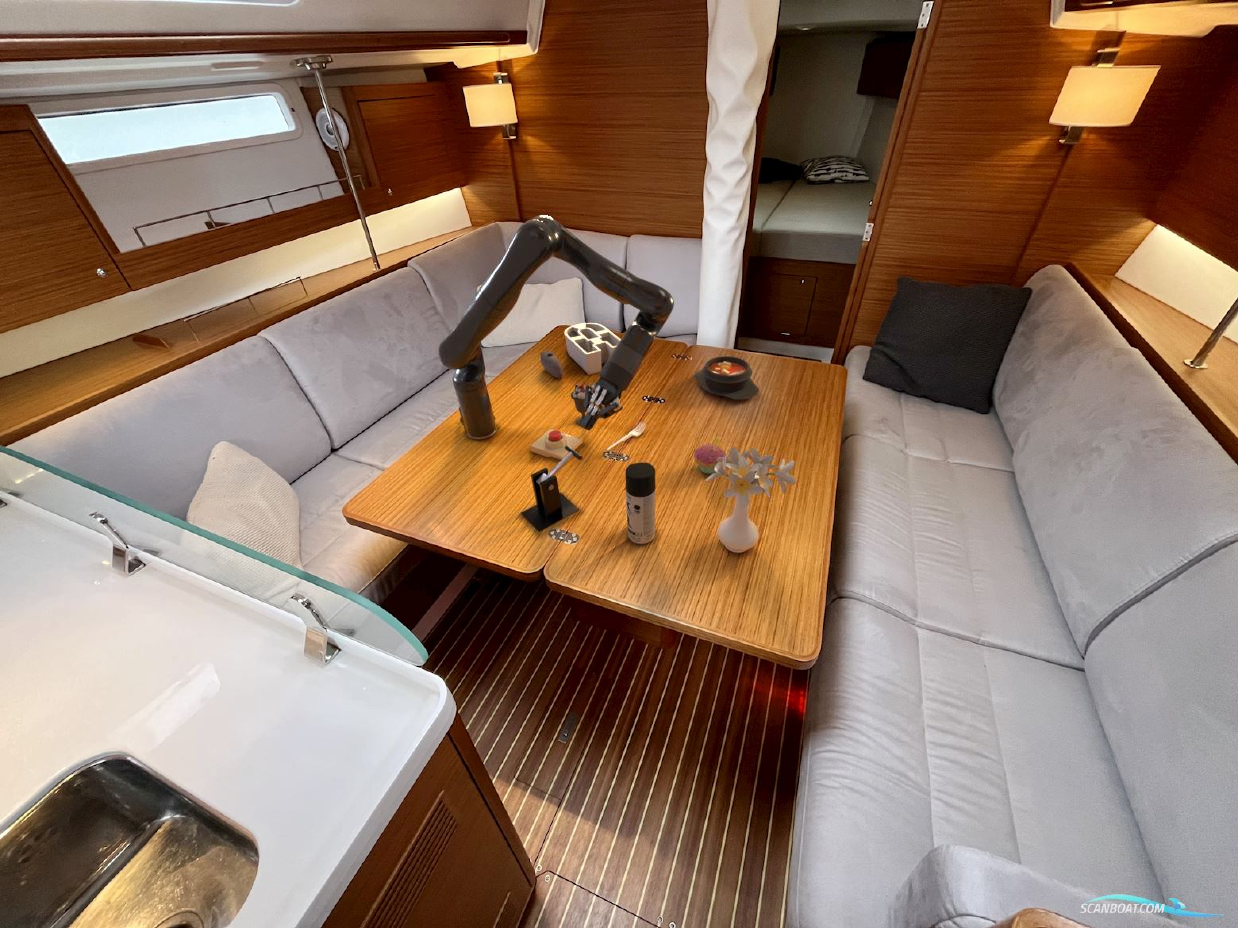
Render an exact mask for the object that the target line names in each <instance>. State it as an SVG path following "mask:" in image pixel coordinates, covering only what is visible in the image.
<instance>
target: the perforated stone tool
mask: <svg viewBox="0 0 1238 928" xmlns="http://www.w3.org/2000/svg"><path fill="white" fill-rule="evenodd" d="M540 363H541V365H542V368H544V369H545V371H546V372H547V373H548V374H550V375H551V376H552V377H554V378H556V379H559V380H561V379H563V377H564V369H563V366H562V364H561V362H560V361H559V358H557V357H556V355H555V354H554V353H553V352H552V351H549V350H543V351H542V352H540Z"/></svg>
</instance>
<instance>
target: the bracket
mask: <svg viewBox="0 0 1238 928" xmlns="http://www.w3.org/2000/svg"><path fill="white" fill-rule="evenodd" d="M543 473H545V474H546V475H548V474H549V473H550V472H549V469H548V468H547V467H544V468H542V469H540V470H538V471H535V472H534V473H531V474H530V480H531V484H532V489H533V494H534V499H535V504H534V505H533V506H531V507H529V508H527V509H525V510H523V511H521V512H520V514H521V516H522V517H524V518H525V520H526V521H528V522H529V524H530V525H531V526H532V527H533V528H534V529H535V530H536V531H537V532H538V533H541V532H542V531H543V532H544V530H546V529H548V528H550V527H552V526H554V525H555V524H557V523H558V522H561V521H563V520H564V519H566V518H568V517H570V516H572V515H573V514H575V513H577V512H579V511H580V509H579V507H577V506H576V505H575V504H574V503H573V502H572V501H570V500H569V498H567V497H566V496H565V495H564V494H563V493H562V492H560V490H559V489H560V488H559V481H558V476H556V475H554V476H552V477H550V478H548V479H546V480H544V481H542V482H540V483H539V484H538V483H537V482H536V480H537V479H538V478H539V477H540V476H541V475H542V474H543Z"/></svg>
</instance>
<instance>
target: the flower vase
mask: <svg viewBox="0 0 1238 928" xmlns="http://www.w3.org/2000/svg"><path fill="white" fill-rule="evenodd" d="M725 454H726V455H725V457H720V458H717V462H718V463H717V464H716V466H715V471H716V472H715V473H712V474H709V476H708V477H707V478H706V479H705V482H708V483H709V482H710V481H711V482H712V481H713V480H715V479H719V478H722V477H727V479H728V480H729V482H730V484H732V486H731V487H729V488H728V489H726V490H725V492H724V494H723V495H724V497H725V498H728V499H731V498H734V497H735V501H734V507H733V512H732V513H731V515H730V516H728V517H726V518H724V519H723V520H722V521H721V522H720V523H719V525H718V527H717V531H716V532H717V538H718V539H719V541H720V543H721V544H722V545H723V546H724V547H725V548H726V549H727V550H728V551H730V552H732V553H736V554H737V553H738V554H740V553H744V552H746V551H748V550H750V549H752V548H754V546H755V545H757V543H758V541H759V537H760V533H759V528H758V526H757V525H756V523H754V522H753V520H752V519H750V516H749V515H750V514H749V513H750V512H749V511H750V501H751V496H752V495H754V496H758V495H761V494H763V492H764V493H765V495H766V496H767V498H771V492H770V489H769V488H772V487H774V482H773V480H772V478H770V477H768V476H775V477H776V481H777V482H778V483H779V486H780V489H781V493H782V494H786V492H787V485H790V486H795V485H796V482H797V481H796V478H795V477H794V476H793V475H792V474H791V473H790V472H791V471H792V470H793V469H794V467H795V463H796V462H795V460H790V461H789V462H788V463H787V464H786V460H785V459H784V458H782V459H781V461H780V465H779V466H777V465H775V464H774V463H773V464H772V462H773V461H774V459H775V457H774V456H773V455H772V454H765V455H763V456H761V455H760V452H759V451H757V449H756V448H754V447H750V450H745V451H743V452H742V453H741V454H740V452H739V449H738V448H737V447H735V446H733V447H731V448H730V449H729V451H728V453H727V452H725ZM728 456H729V457H728ZM747 458H748V459H749V460H750V461H751V463H753V464H750V465H749V460H748V459H747ZM721 463H722V464H721ZM768 469H771V470H777V471H776V472H768ZM730 470H731V471H733V472H734V473H732V472H731V473H727V471H730Z"/></svg>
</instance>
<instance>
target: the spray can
mask: <svg viewBox="0 0 1238 928" xmlns="http://www.w3.org/2000/svg"><path fill="white" fill-rule="evenodd" d="M656 485H657V483H656V468H655V467H654V465H652V464H651V463H648V462H646V461H645V462H634V463H630V464H629V465H627V467H626V468H625V497H626V499H625V500H626V501H625V503H626V524H627V526H626V527H627V536H628V539H629V540H630V541H631V542H632V543H634V544H636V545H646V544H649V543H650V542H651V541H653V540H654V539H655V536H656V489H657V487H656Z"/></svg>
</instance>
